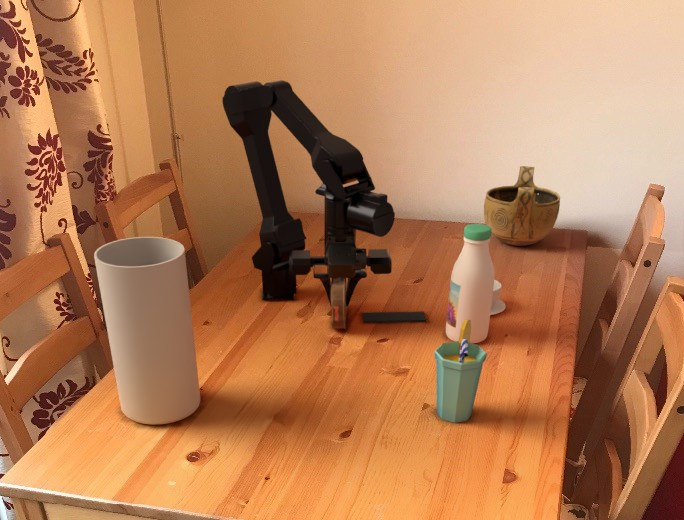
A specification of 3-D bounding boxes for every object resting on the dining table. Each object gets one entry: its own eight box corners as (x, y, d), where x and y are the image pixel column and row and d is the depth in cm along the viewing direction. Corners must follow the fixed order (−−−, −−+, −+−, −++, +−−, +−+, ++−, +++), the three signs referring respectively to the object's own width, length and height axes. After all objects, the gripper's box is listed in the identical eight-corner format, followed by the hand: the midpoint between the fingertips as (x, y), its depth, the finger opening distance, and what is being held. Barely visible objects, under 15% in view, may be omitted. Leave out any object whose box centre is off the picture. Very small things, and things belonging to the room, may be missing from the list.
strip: (363, 322, 152) (363, 320, 151) (362, 314, 155) (362, 312, 155) (426, 321, 152) (426, 319, 152) (423, 313, 155) (423, 311, 155)
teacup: (474, 293, 163) (477, 271, 160) (515, 307, 157) (518, 284, 155) (444, 307, 157) (446, 284, 155) (485, 321, 152) (488, 298, 149)
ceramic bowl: (553, 260, 178) (565, 191, 169) (477, 255, 181) (484, 187, 172) (552, 229, 195) (563, 165, 187) (482, 224, 198) (490, 161, 190)
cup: (481, 442, 117) (494, 349, 109) (429, 439, 118) (437, 347, 109) (477, 396, 129) (488, 308, 120) (429, 393, 129) (436, 306, 120)
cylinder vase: (114, 396, 129) (86, 243, 114) (188, 381, 133) (171, 232, 118) (131, 433, 120) (103, 272, 105) (210, 416, 124) (194, 259, 109)
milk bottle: (492, 331, 148) (506, 223, 136) (480, 348, 143) (494, 236, 131) (452, 324, 151) (462, 217, 139) (439, 340, 145) (449, 230, 134)
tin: (344, 336, 147) (347, 293, 142) (327, 335, 147) (330, 292, 142) (346, 304, 159) (349, 263, 154) (331, 303, 159) (333, 262, 154)
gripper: (288, 239, 136) (290, 324, 145) (396, 237, 136) (392, 322, 145) (288, 218, 145) (290, 300, 154) (390, 217, 145) (386, 298, 154)
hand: (339, 305), depth 152 cm, fingers closed on tin, 2 cm apart
